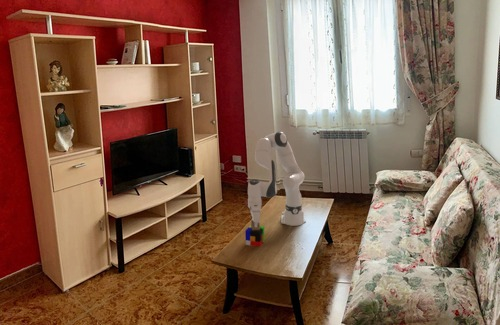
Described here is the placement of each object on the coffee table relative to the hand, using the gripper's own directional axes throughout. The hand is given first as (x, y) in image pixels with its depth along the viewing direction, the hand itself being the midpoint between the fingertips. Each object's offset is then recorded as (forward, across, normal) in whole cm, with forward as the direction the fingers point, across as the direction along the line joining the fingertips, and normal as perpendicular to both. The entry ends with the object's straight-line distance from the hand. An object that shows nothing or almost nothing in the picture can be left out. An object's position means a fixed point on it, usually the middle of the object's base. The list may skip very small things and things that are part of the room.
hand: (254, 224), depth 275 cm
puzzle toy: (+13, 0, 0) cm, 13 cm away
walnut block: (+3, 0, 0) cm, 3 cm away
